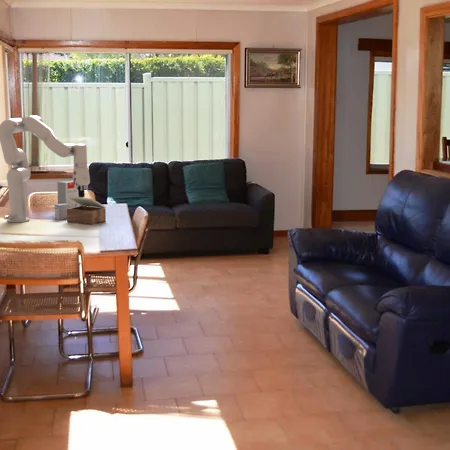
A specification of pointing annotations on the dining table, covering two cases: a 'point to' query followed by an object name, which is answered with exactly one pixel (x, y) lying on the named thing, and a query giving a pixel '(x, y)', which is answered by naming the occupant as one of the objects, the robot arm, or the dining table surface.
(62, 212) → the medicine box
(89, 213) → the wooden box
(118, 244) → the dining table surface
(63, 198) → the hard drive box
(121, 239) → the dining table surface
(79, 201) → the lid
